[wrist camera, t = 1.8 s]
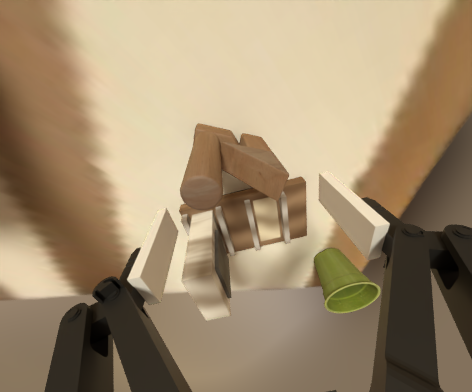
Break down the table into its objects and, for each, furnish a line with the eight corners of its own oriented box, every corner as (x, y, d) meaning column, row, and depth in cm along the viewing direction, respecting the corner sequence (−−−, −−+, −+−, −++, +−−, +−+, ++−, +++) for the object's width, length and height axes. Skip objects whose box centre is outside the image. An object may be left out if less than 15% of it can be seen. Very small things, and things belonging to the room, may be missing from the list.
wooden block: (256, 157, 34) (289, 224, 19) (194, 145, 32) (175, 209, 17) (262, 136, 32) (305, 192, 17) (197, 122, 30) (178, 171, 15)
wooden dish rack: (180, 205, 38) (161, 277, 24) (301, 176, 37) (352, 235, 23) (202, 252, 45) (197, 327, 32) (303, 229, 44) (342, 297, 31)
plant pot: (302, 249, 48) (323, 292, 38) (349, 235, 47) (383, 276, 37) (306, 276, 54) (326, 318, 45) (348, 264, 53) (377, 306, 44)
